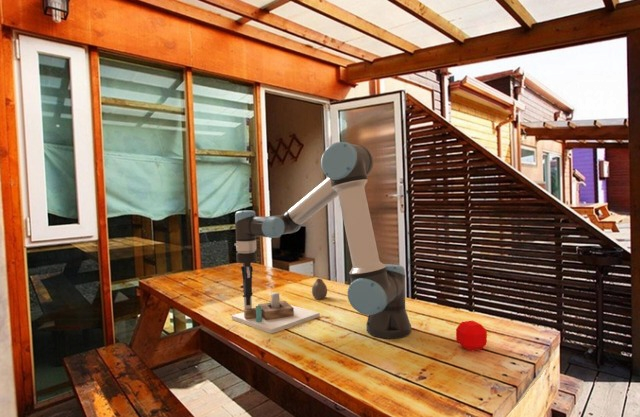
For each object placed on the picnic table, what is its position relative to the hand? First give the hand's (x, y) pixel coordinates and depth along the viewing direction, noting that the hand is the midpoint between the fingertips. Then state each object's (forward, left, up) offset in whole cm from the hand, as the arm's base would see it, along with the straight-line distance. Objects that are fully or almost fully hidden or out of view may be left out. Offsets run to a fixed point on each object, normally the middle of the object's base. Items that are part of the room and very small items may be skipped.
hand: (248, 312), depth 150 cm
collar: (-5, -6, -1) cm, 7 cm away
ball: (-74, -29, -3) cm, 80 cm away
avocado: (0, -40, -3) cm, 40 cm away
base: (-6, -9, -3) cm, 11 cm away
